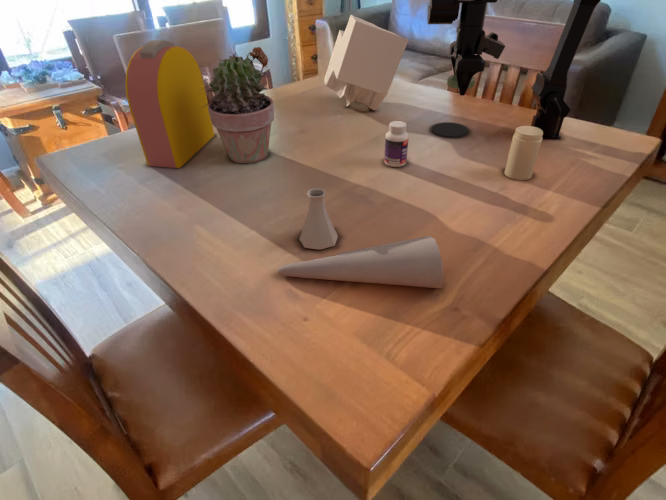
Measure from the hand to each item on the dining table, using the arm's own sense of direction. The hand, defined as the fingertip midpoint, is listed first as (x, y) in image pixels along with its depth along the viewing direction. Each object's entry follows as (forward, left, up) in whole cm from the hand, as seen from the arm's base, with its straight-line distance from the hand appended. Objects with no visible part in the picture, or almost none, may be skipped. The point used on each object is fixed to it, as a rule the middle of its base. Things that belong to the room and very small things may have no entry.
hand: (460, 91), depth 110 cm
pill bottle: (+16, +19, -12) cm, 28 cm away
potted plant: (+54, +18, -12) cm, 58 cm away
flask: (+30, +52, -12) cm, 61 cm away
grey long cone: (+22, +64, -12) cm, 69 cm away
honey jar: (-12, +23, -11) cm, 28 cm away
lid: (0, 0, +3) cm, 3 cm away
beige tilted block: (+27, -22, -12) cm, 37 cm away
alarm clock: (+72, +15, -12) cm, 74 cm away
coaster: (+1, -2, -11) cm, 12 cm away
